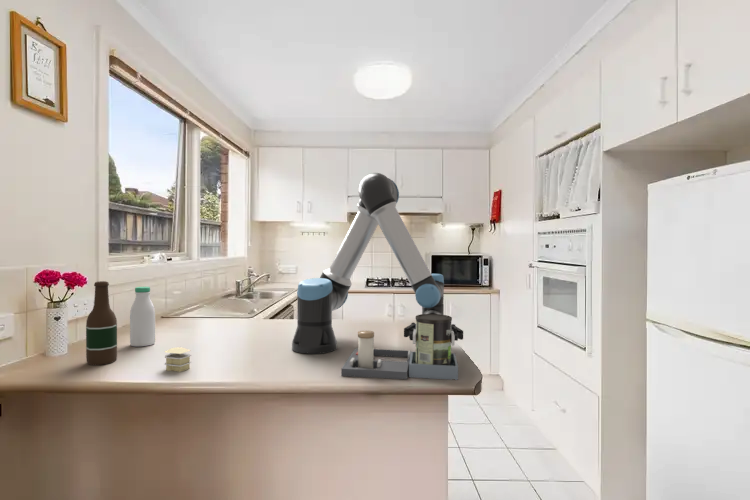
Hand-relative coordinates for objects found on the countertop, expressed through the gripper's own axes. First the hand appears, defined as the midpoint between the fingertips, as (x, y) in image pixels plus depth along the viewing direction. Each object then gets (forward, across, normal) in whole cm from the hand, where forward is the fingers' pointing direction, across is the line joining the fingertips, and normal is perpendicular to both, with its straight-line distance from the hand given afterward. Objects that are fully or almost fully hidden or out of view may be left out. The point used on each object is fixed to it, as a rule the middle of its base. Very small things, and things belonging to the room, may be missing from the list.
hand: (433, 339), depth 117 cm
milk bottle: (-18, +100, -10) cm, 102 cm away
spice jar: (-1, +19, -10) cm, 21 cm away
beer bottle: (+3, +98, -10) cm, 99 cm away
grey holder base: (-7, +16, -10) cm, 20 cm away
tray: (-4, 0, -10) cm, 11 cm away
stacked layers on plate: (+5, +72, -11) cm, 73 cm away
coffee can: (-4, 0, -9) cm, 10 cm away
